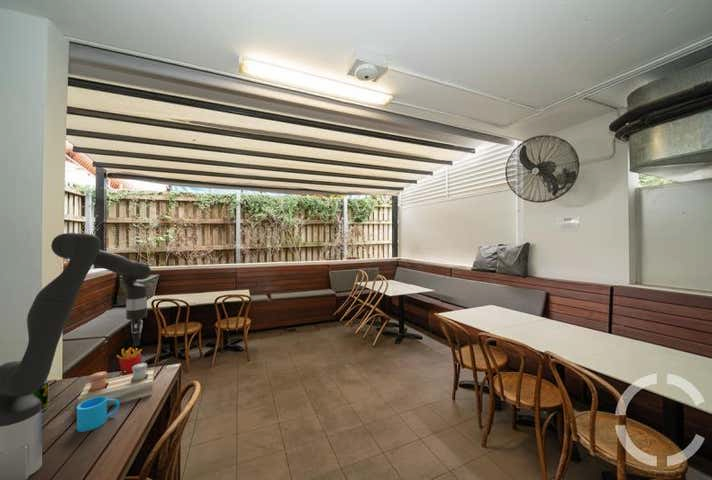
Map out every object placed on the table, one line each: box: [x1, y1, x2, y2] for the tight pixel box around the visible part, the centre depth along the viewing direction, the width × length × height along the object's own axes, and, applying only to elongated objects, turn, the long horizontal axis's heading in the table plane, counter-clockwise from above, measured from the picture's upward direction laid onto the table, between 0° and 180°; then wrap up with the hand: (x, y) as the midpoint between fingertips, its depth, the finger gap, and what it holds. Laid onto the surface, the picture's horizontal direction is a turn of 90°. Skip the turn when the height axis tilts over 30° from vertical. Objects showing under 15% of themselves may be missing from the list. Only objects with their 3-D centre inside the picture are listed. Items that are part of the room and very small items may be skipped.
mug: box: [76, 397, 121, 433], centre depth 105 cm, size 12×8×8 cm
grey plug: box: [132, 362, 148, 382], centre depth 126 cm, size 5×5×7 cm
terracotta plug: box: [89, 370, 108, 392], centre depth 118 cm, size 5×5×7 cm
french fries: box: [116, 347, 143, 376], centre depth 138 cm, size 9×8×15 cm
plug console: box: [77, 368, 155, 407], centre depth 122 cm, size 14×24×6 cm, turn 125°
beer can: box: [33, 377, 50, 412], centre depth 112 cm, size 5×5×12 cm
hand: (137, 342), depth 126 cm, fingers open, 8 cm apart
